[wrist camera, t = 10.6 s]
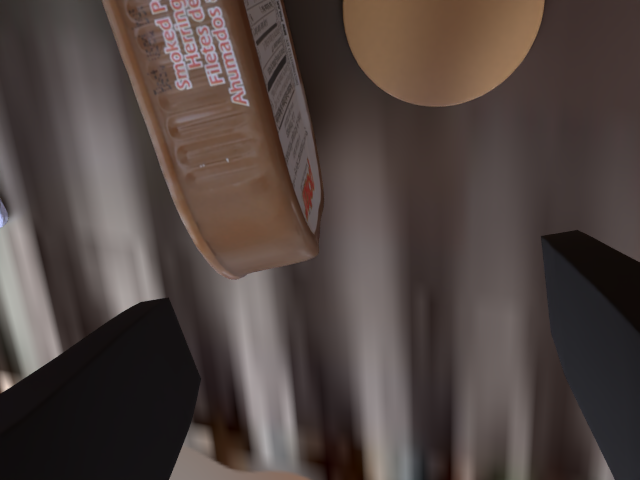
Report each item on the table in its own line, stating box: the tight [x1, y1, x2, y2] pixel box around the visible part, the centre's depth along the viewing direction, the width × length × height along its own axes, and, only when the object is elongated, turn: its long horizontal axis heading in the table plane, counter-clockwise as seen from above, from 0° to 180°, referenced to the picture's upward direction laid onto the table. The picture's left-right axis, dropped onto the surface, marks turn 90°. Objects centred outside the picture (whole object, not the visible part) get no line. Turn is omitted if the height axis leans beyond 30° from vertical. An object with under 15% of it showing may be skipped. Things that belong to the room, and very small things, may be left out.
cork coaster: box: [343, 0, 545, 107], centre depth 19 cm, size 6×6×1 cm
